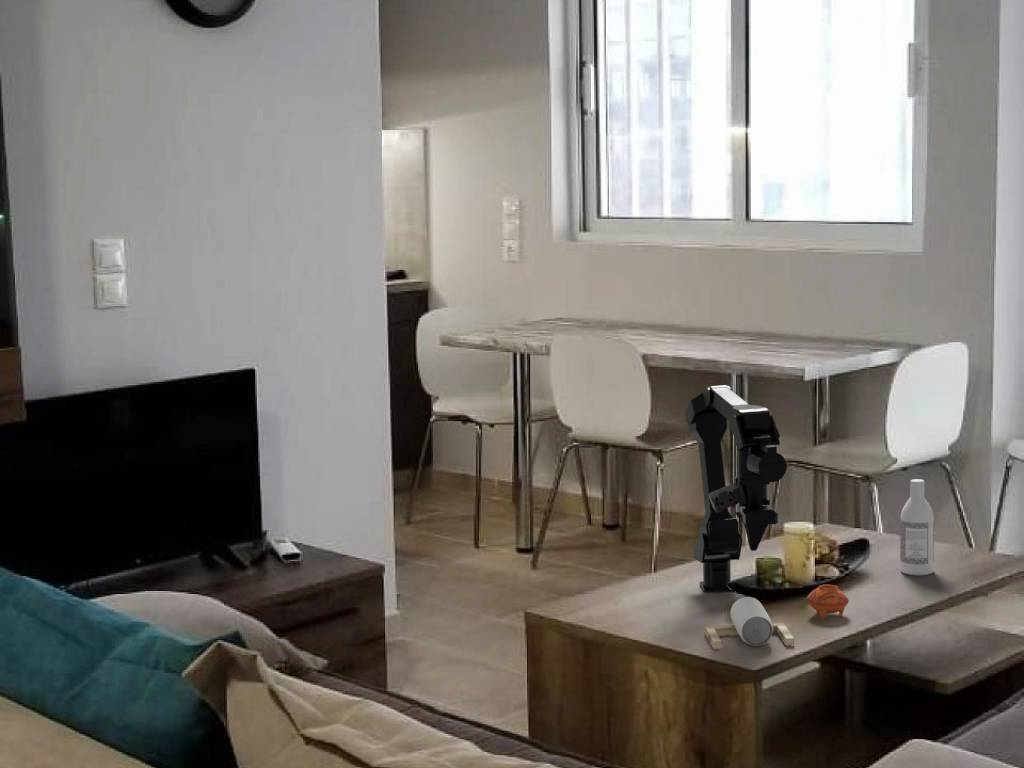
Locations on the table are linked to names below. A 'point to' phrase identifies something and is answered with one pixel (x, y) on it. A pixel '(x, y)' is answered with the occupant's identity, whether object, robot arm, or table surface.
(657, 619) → the table surface
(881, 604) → the table surface
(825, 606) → the pot
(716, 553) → the robot arm
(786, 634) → the cradle
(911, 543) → the bath foam
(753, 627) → the can
